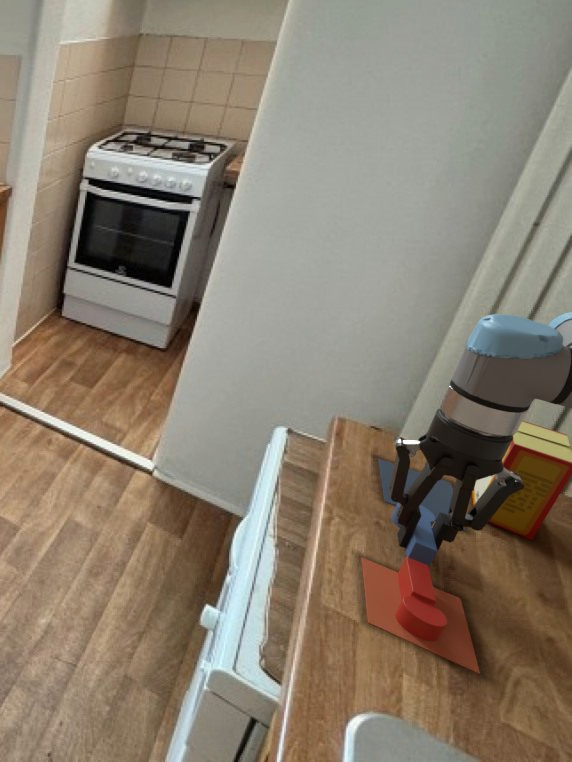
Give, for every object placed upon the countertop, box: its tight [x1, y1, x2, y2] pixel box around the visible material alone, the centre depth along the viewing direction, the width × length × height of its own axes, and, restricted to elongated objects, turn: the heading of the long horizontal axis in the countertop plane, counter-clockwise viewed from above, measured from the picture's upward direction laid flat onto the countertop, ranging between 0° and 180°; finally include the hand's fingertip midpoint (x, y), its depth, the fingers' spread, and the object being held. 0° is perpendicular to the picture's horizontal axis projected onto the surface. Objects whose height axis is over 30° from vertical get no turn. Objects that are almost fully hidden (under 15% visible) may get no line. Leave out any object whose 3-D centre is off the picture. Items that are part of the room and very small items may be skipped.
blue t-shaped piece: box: [390, 503, 438, 568], centre depth 92 cm, size 11×4×4 cm, turn 143°
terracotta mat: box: [361, 557, 481, 675], centre depth 84 cm, size 11×13×1 cm
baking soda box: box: [471, 420, 572, 540], centre depth 98 cm, size 10×6×16 cm
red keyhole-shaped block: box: [395, 556, 447, 641], centre depth 84 cm, size 11×4×4 cm, turn 143°
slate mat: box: [377, 458, 467, 532], centre depth 105 cm, size 10×13×1 cm
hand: (415, 546), depth 91 cm, fingers closed on blue t-shaped piece, 2 cm apart
